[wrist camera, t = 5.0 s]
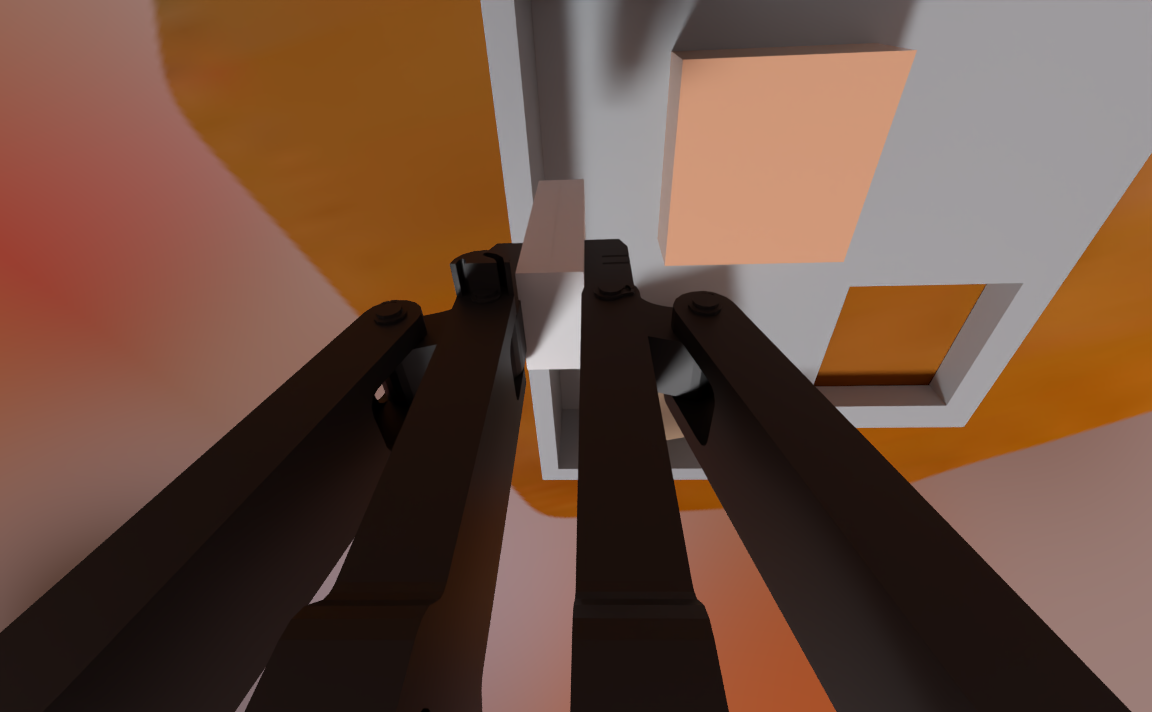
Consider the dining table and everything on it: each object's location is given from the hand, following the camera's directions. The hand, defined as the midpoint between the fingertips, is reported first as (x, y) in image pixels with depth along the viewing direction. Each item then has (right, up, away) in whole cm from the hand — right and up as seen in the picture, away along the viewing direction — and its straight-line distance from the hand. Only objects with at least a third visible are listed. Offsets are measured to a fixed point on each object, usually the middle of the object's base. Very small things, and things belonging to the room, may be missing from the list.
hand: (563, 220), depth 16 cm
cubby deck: (+12, +2, +9) cm, 15 cm away
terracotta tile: (+8, +4, +5) cm, 11 cm away
